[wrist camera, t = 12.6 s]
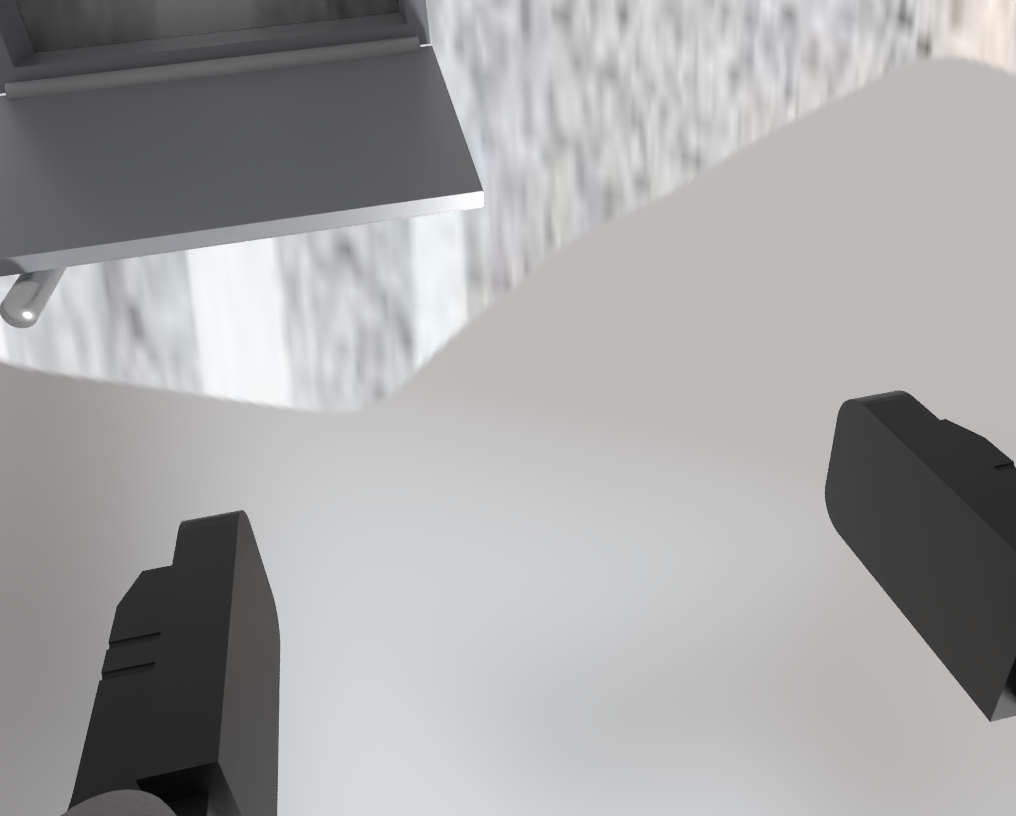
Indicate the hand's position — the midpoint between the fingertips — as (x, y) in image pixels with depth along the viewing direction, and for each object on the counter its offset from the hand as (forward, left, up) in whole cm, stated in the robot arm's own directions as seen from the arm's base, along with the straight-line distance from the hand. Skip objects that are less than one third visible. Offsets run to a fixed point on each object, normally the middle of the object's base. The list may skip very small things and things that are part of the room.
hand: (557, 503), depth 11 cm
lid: (+6, 0, -22) cm, 23 cm away
